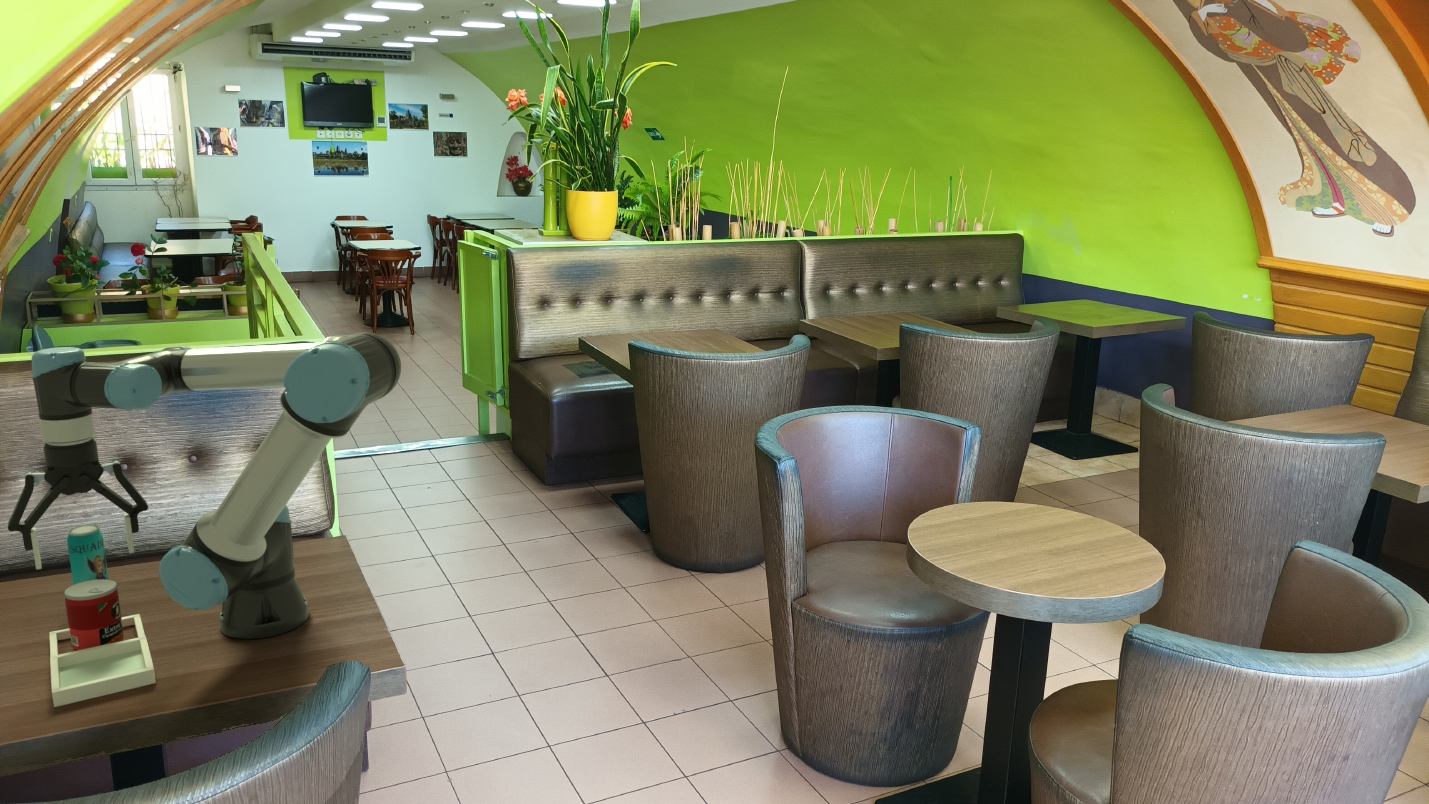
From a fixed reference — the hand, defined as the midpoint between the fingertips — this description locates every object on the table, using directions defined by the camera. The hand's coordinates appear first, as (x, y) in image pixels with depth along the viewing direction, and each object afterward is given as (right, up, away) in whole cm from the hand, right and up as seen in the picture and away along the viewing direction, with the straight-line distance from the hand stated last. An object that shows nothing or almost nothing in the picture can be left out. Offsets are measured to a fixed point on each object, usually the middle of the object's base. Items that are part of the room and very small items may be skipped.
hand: (86, 558), depth 172 cm
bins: (+4, -17, -2) cm, 18 cm away
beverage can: (-12, -12, +21) cm, 27 cm away
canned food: (0, -16, +4) cm, 17 cm away
